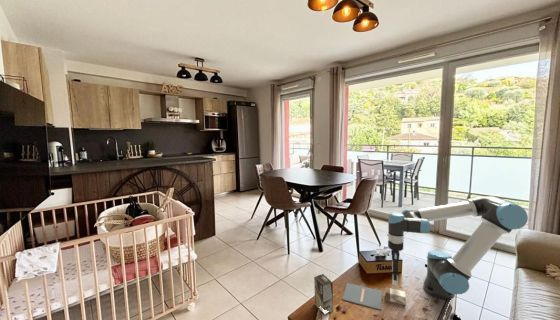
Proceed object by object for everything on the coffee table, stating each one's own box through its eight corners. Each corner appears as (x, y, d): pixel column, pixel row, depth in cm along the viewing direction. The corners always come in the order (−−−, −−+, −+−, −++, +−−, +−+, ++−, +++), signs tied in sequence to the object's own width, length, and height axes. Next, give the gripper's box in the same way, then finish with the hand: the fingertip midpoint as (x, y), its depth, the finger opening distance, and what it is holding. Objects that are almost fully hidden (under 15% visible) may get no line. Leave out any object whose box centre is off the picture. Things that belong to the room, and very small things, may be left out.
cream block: (405, 299, 128) (405, 291, 128) (405, 305, 124) (405, 297, 123) (385, 294, 133) (385, 287, 132) (385, 300, 128) (385, 292, 128)
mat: (381, 292, 135) (381, 291, 135) (380, 310, 121) (380, 309, 120) (347, 283, 144) (347, 282, 144) (342, 299, 129) (342, 298, 129)
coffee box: (333, 311, 121) (333, 282, 120) (323, 315, 118) (323, 286, 117) (323, 300, 129) (323, 273, 128) (314, 304, 127) (313, 276, 125)
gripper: (388, 231, 138) (387, 265, 140) (387, 249, 116) (387, 289, 118) (402, 233, 135) (401, 268, 137) (404, 252, 113) (403, 293, 114)
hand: (394, 278), depth 127 cm, fingers open, 13 cm apart
